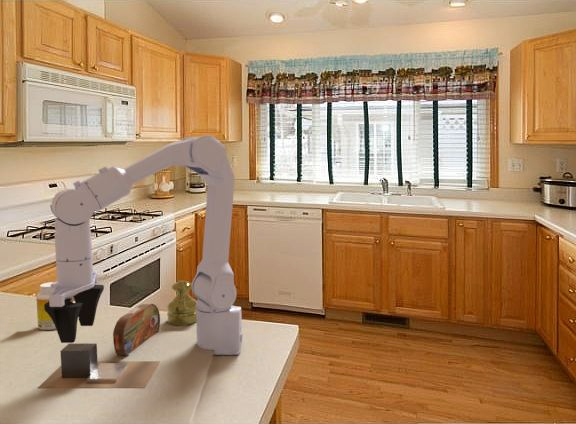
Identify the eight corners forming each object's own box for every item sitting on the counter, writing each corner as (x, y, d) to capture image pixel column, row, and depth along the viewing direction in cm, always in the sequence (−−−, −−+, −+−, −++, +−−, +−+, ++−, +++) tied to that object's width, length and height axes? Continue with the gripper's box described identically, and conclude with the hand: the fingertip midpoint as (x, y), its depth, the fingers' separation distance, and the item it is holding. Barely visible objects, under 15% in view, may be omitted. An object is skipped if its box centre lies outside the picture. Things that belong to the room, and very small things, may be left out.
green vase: (200, 324, 110) (200, 283, 108) (169, 327, 107) (167, 286, 106) (195, 314, 116) (195, 276, 115) (165, 317, 114) (164, 278, 113)
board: (160, 367, 87) (160, 361, 87) (145, 394, 77) (144, 387, 77) (65, 367, 87) (65, 361, 86) (37, 394, 77) (37, 388, 77)
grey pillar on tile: (127, 366, 85) (126, 340, 84) (116, 381, 79) (115, 354, 78) (73, 366, 85) (72, 340, 84) (58, 382, 79) (56, 354, 78)
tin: (125, 364, 88) (124, 322, 87) (110, 363, 89) (109, 321, 88) (162, 335, 103) (160, 299, 102) (149, 334, 103) (148, 298, 102)
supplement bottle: (61, 330, 105) (58, 287, 104) (34, 331, 104) (32, 288, 103) (67, 321, 111) (65, 280, 109) (42, 323, 109) (39, 281, 108)
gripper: (70, 249, 86) (73, 318, 88) (28, 268, 72) (33, 350, 73) (107, 249, 86) (110, 318, 88) (73, 268, 72) (77, 350, 74)
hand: (77, 333), depth 81 cm, fingers open, 7 cm apart
